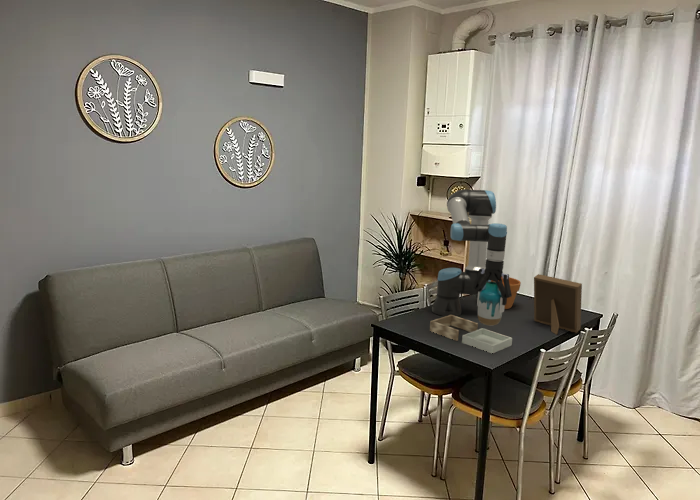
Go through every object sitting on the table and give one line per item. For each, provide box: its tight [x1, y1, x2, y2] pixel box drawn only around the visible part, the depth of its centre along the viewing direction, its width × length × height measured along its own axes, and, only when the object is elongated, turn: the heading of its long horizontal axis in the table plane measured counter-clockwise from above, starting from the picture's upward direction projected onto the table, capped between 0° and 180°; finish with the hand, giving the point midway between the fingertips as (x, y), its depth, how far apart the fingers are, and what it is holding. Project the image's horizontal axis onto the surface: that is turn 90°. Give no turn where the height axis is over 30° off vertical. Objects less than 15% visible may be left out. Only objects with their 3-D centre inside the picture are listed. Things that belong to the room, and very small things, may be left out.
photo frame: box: [533, 273, 583, 335], centre depth 257 cm, size 15×22×25 cm
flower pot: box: [491, 276, 522, 310], centre depth 292 cm, size 21×21×15 cm
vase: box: [477, 281, 503, 327], centre depth 231 cm, size 11×11×19 cm
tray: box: [461, 327, 513, 354], centre depth 235 cm, size 16×16×4 cm
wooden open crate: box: [429, 315, 479, 342], centre depth 248 cm, size 16×16×5 cm
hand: (490, 308), depth 231 cm, fingers closed on vase, 11 cm apart
